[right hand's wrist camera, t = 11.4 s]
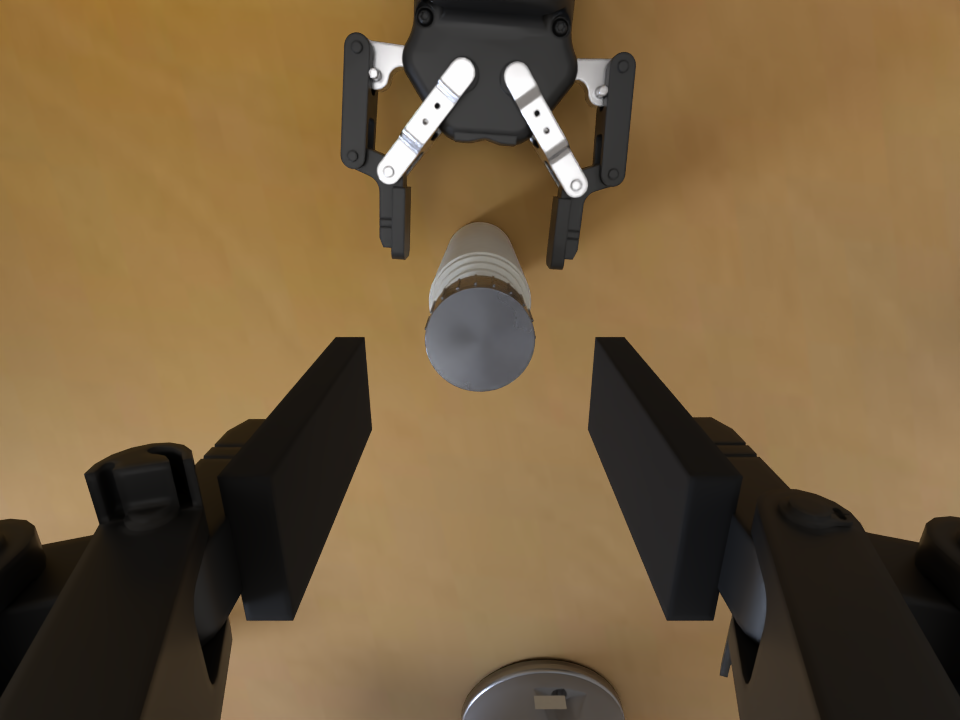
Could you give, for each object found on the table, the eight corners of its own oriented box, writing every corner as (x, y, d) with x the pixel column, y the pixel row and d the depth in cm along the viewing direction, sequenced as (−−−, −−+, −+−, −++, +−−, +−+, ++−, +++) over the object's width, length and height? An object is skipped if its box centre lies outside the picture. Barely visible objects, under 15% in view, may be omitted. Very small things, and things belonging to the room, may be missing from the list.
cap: (482, 390, 20) (482, 414, 18) (407, 327, 19) (399, 344, 17) (552, 322, 19) (559, 338, 17) (476, 251, 18) (476, 261, 17)
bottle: (481, 302, 35) (483, 419, 19) (432, 258, 34) (389, 341, 18) (527, 254, 34) (570, 334, 18) (478, 207, 33) (476, 245, 17)
